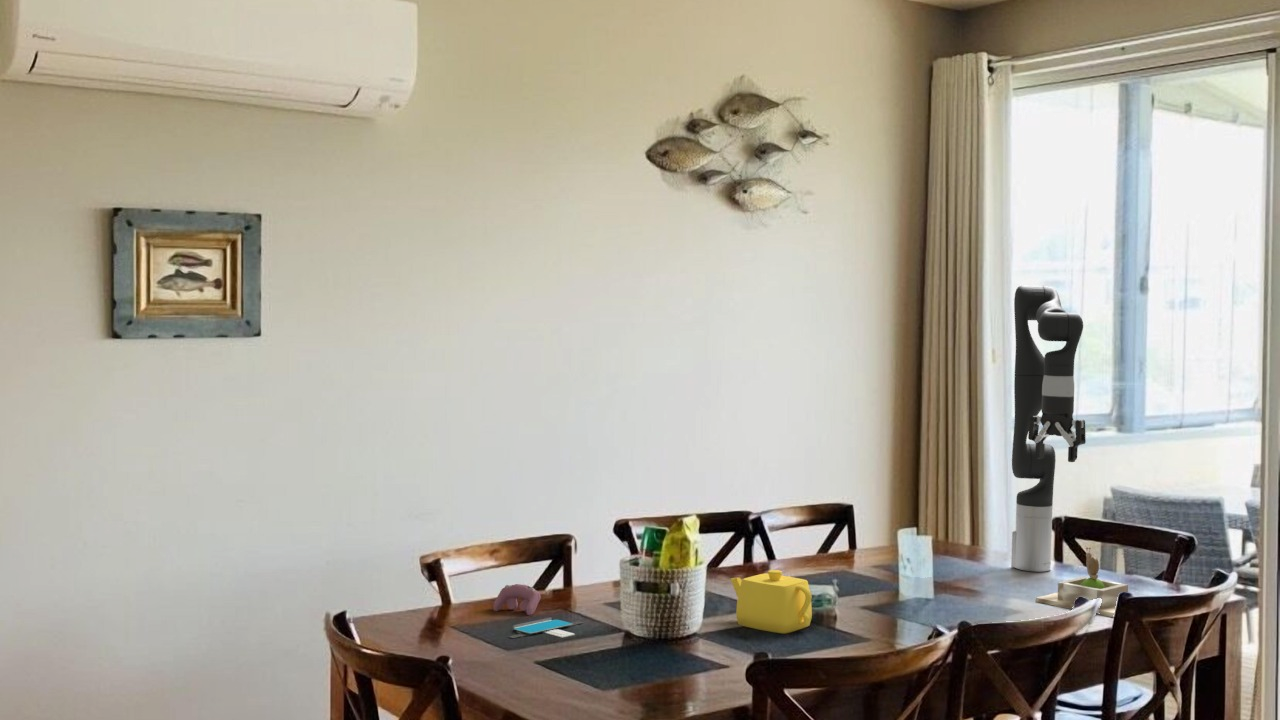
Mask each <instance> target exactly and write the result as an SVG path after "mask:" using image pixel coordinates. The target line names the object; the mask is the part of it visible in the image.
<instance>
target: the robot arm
mask: <svg viewBox="0 0 1280 720" xmlns="http://www.w3.org/2000/svg"><path fill="white" fill-rule="evenodd" d="M1013 301H1014V304H1013V305H1014V307H1013V308H1014V328H1015V329H1014V330H1015V331H1014V334H1015V356H1014V357H1015V360H1014V386H1013V387H1014V393H1013V394H1014V427H1013V428H1014V429H1013V440H1012V453H1011V469H1012V474H1013V476H1014V477H1015V478H1016V479H1029V480H1030V479H1031V480H1033V479H1034V480H1035V479H1036V480H1038V481H1039V482H1038V483H1036V484H1035V485H1034V486H1032V487H1030V488H1028V489H1024V490H1022V491H1018V492H1017V494H1016V504H1015V505H1016V508H1015V530H1013V531H1012V532H1011V555H1010V557H1011V558H1010V559H1011V561H1010V567H1011V568H1015V569H1017V570H1021V571H1025V572H1026V571H1027V572H1038V573H1039V572H1049V571H1051V564H1052V563H1051V562H1052V561H1051V558H1052V536H1053V535H1052V533H1053V532H1052V531H1053V505H1054V504H1053V502H1054V501H1053V497H1054V482H1055V472H1056V451H1055V449H1054V447H1053V445H1051V444H1047V443H1046V444H1045V443H1044V442H1045V441H1046V440H1047V439H1048V438H1049V437H1050V436H1057V437H1062V438H1063V439H1064V440H1065V441H1066V443H1067V445H1068V450H1067V451H1068V453H1067V462H1068V463H1074V462H1076V460H1078V459H1077V458H1078V448H1079V446H1082V445H1085V444H1086V443H1087V442H1086V420H1084V419H1074V418H1073V417H1074V416H1073V415H1074V411H1075V410H1074V409H1075V408H1074V406H1075V379H1074V375H1075V360H1076V359H1075V358H1076V354H1077V349H1078V347H1079V346H1078V345H1079V342H1080V339H1081V337H1082V334H1083V330H1084V321H1083V319H1082V317H1081V316H1080V314H1078V313H1076V312H1067V311H1066V310H1065V309H1064V308H1063V307H1062V302H1061V299H1060V296H1059V293H1058V292H1057V290H1056V289H1055V287H1052V286H1049V285H1048V286H1047V285H1019V286H1018V287H1017V288H1016V290H1015V293H1014V299H1013ZM1029 321H1036V322H1037V332H1038V333H1037V334H1038V336H1039V338H1040V339H1042V340H1044V341H1046V342H1065V345H1064V346H1063V347H1062V348H1060V349H1057V350H1052V351H1047V352H1046V353H1045V354H1044V355H1043V354H1042V353H1041V351H1040V349H1039V348H1038V346H1037V345H1036V342H1035V341H1034V339H1033V337H1032V333H1031V331H1030V327H1029ZM1040 412H1041V413H1042V414H1041V416H1039V414H1040ZM1040 425H1042V428H1041V429H1040V431H1039V428H1040ZM1072 427H1073V428H1074V429H1075V433H1074V431H1073V430H1072ZM1027 439H1028V440H1029V441H1033V442H1034V443H1027Z"/></svg>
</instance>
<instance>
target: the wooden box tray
mask: <svg viewBox="0 0 1280 720" xmlns="http://www.w3.org/2000/svg"><path fill="white" fill-rule="evenodd" d="M1087 578H1089V577H1087V576H1082V577H1077V578H1073V579H1072V578H1071V579H1068V580H1063V581H1059V582H1058V583H1057V592H1053V593H1050V594H1049V593H1048V594H1046V595H1042V596H1037V597H1035V602H1036V603H1040V604H1045V605H1051V606H1055V607H1059V608H1065V609H1070V608H1072V607H1073V606H1074V601H1075V600H1076V598H1078V597H1085V598H1087V599H1088V600H1093V599H1097V598H1101V599H1102V603H1101V606H1100V608H1099V613H1100V614H1101V615H1100V616H1105V617H1110V618H1114V617H1113V615H1114V612H1115V606H1116V601H1117V597H1118V594H1119V593H1121V592H1128V593H1129V584H1126V583H1120V582H1115V581H1110V580H1105V579H1099V580H1100V581H1101V582H1102V583H1103V584H1104V587H1105V588H1103V589H1097V588H1092V587H1086V586H1081V584H1082V582H1083V581H1084V580H1085V579H1087Z"/></svg>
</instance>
